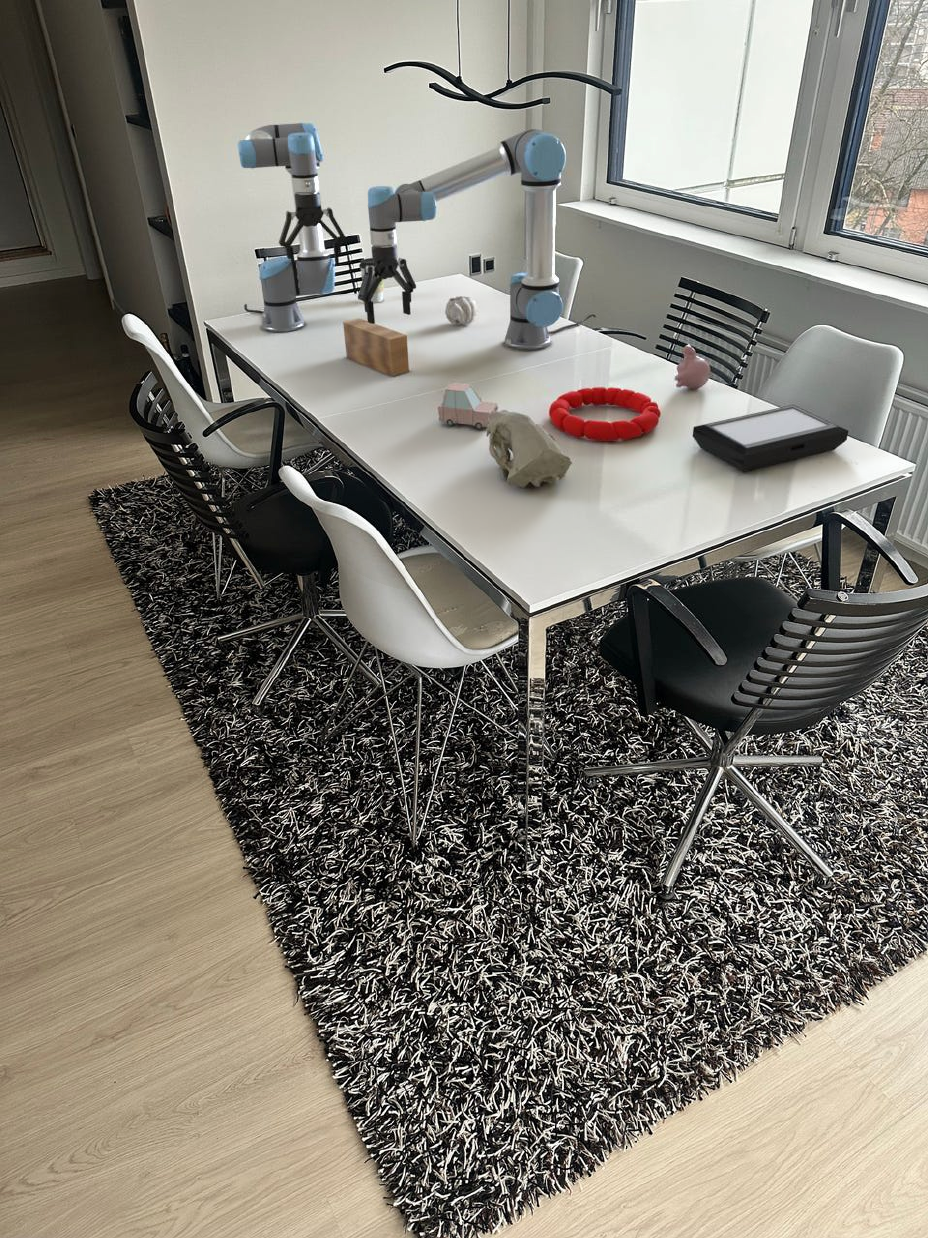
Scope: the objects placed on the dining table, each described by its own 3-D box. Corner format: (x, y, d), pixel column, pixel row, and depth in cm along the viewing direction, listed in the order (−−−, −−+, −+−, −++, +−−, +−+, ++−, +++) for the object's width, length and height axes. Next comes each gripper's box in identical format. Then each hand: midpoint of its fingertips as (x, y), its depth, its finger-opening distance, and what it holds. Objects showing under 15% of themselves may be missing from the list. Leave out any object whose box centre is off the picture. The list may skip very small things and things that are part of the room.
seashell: (437, 324, 323) (436, 295, 317) (473, 317, 329) (473, 289, 323) (451, 331, 315) (450, 302, 310) (487, 324, 321) (487, 295, 316)
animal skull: (496, 517, 219) (521, 479, 201) (463, 429, 225) (484, 384, 207) (557, 503, 225) (586, 465, 206) (523, 417, 231) (549, 373, 212)
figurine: (665, 387, 264) (669, 347, 257) (693, 380, 268) (698, 340, 261) (686, 396, 257) (690, 355, 250) (714, 388, 262) (720, 348, 255)
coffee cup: (386, 303, 348) (383, 263, 339) (361, 304, 348) (357, 263, 339) (388, 296, 356) (385, 257, 347) (363, 297, 356) (360, 257, 347)
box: (346, 357, 295) (342, 322, 289) (362, 353, 299) (359, 317, 292) (393, 376, 279) (390, 339, 272) (409, 371, 282) (406, 334, 276)
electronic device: (745, 452, 210) (694, 423, 225) (741, 476, 213) (691, 446, 228) (849, 427, 220) (793, 401, 235) (844, 450, 224) (789, 423, 239)
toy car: (488, 432, 240) (488, 396, 234) (436, 426, 244) (434, 390, 239) (499, 419, 247) (499, 384, 241) (448, 413, 252) (447, 379, 246)
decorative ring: (589, 435, 224) (684, 402, 234) (527, 398, 247) (617, 369, 256) (589, 461, 229) (683, 427, 238) (529, 422, 251) (617, 393, 260)
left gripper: (266, 197, 258) (277, 274, 270) (350, 190, 264) (357, 265, 276) (263, 193, 264) (273, 268, 276) (345, 186, 270) (352, 259, 282)
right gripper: (356, 253, 253) (363, 329, 265) (425, 239, 266) (428, 312, 278) (341, 249, 257) (348, 324, 270) (409, 236, 271) (413, 307, 283)
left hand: (315, 266), depth 276 cm, fingers open, 13 cm apart
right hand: (389, 318), depth 274 cm, fingers open, 13 cm apart
